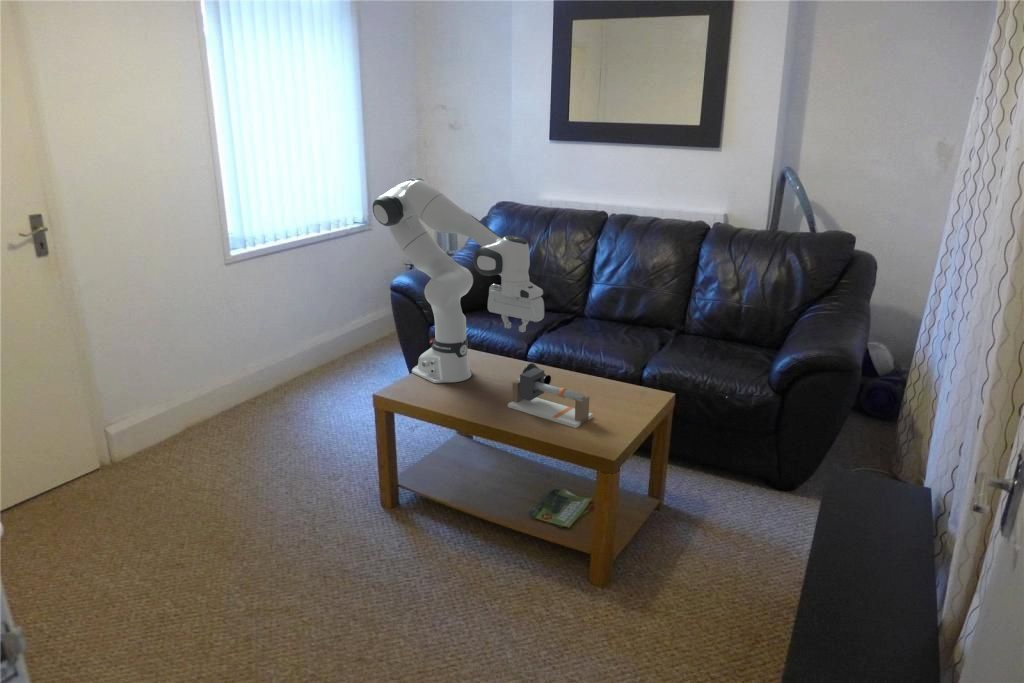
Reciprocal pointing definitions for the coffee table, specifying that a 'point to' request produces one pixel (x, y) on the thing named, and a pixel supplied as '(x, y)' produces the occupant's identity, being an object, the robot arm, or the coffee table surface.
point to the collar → (531, 383)
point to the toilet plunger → (530, 366)
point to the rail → (553, 405)
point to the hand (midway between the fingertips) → (515, 329)
